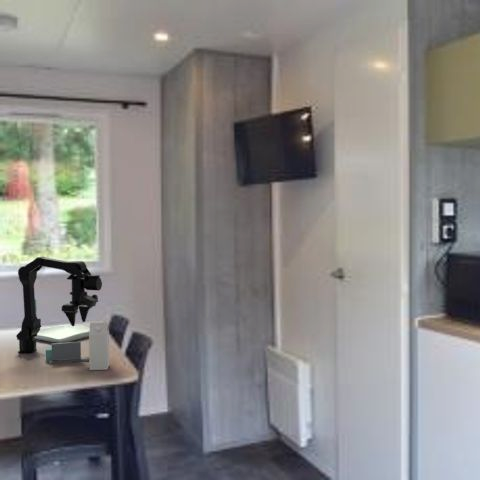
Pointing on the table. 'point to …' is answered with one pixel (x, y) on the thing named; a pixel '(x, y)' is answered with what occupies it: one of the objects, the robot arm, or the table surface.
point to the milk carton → (99, 346)
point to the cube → (48, 354)
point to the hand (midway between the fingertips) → (78, 324)
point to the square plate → (63, 333)
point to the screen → (66, 350)
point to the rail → (69, 360)
